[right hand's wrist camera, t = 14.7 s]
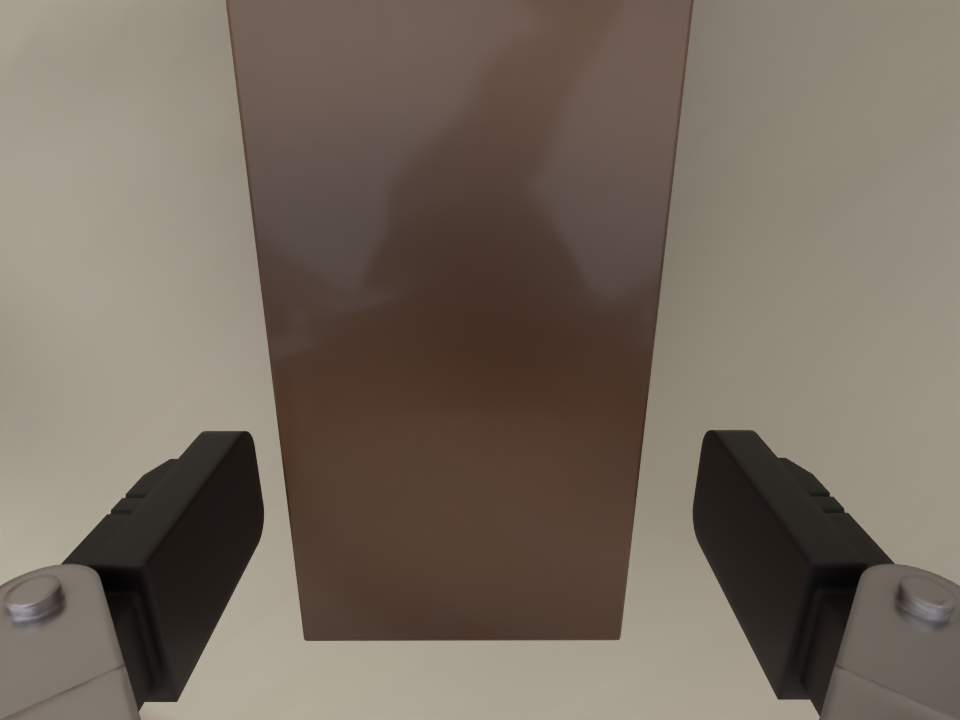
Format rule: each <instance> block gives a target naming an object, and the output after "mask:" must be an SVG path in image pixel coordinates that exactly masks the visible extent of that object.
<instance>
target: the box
mask: <svg viewBox="0 0 960 720" xmlns="http://www.w3.org/2000/svg"><path fill="white" fill-rule="evenodd" d="M226 5H227V14H228V22H229V30H230V38H231V46H232V54H233V63H234V71H235V79H236V87H237V95H238V103H239V111H240V120H241V128H242V136H243V144H244V152H245V160H246V169H247V177H248V185H249V193H250V201H251V209H252V218H253V226H254V234H255V242H256V250H257V258H258V267H259V275H260V283H261V291H262V299H263V307H264V316H265V324H266V332H267V340H268V348H269V356H270V364H271V373H272V381H273V389H274V397H275V405H276V413H277V422H278V430H279V438H280V446H281V454H282V462H283V471H284V479H285V487H286V495H287V503H288V511H289V520H290V528H291V536H292V544H293V552H294V560H295V569H296V577H297V585H298V593H299V601H300V609H301V617H302V626H303V634H304V639H305V640H306V641H411V640H619V639H620V636H621V627H622V619H623V610H624V601H625V592H626V584H627V575H628V566H629V558H630V549H631V540H632V531H633V523H634V514H635V505H636V497H637V488H638V479H639V470H640V462H641V453H642V444H643V436H644V427H645V418H646V409H647V401H648V392H649V383H650V375H651V366H652V357H653V349H654V340H655V331H656V322H657V314H658V305H659V296H660V288H661V279H662V270H663V261H664V253H665V244H666V235H667V227H668V218H669V209H670V200H671V192H672V183H673V174H674V166H675V157H676V148H677V139H678V131H679V122H680V113H681V105H682V96H683V87H684V78H685V70H686V61H687V52H688V44H689V35H690V26H691V17H692V9H693V0H226Z"/></svg>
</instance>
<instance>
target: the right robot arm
mask: <svg viewBox="0 0 960 720" xmlns="http://www.w3.org/2000/svg"><path fill="white" fill-rule="evenodd" d="M263 523H264V506H263V499H262V492H261V486H260V479H259V472H258V466H257V459H256V452H255V446H254V441H253V438H252V436H251V434H250V433H249V432H247V431H204V432H202V433H201V434H200V435H199V436H198V437H197V438H196V439H195V440H194V441H193V443H192V444H191V445H190V446H189V447H188V448H187V449H186V451H185V452H184V453H183V454H182V455H181V456H180V458H179V459H170V460H168V461H167V462H165V463H163V464H162V465H160V466H158V467H157V468H155V469H153V470H151V471H150V472H148V473H146V474H145V475H143V476H142V477H141V478H140V480H139V481H138V482H137V483H136V484H135V485H134V486H133V487H132V488H131V489H130V490H129V491H128V493H127V494H126V498H122V499H121V500H120V501H119V502H118V503H117V504H116V505H115V507H114V508H113V509H112V510H111V514H107V515H106V516H105V517H104V518H103V520H102V521H101V522H100V523H99V524H98V525H97V526H96V527H95V528H94V529H93V530H92V531H91V532H90V534H89V535H88V536H87V537H86V538H85V539H84V540H83V541H82V542H81V543H80V544H79V545H78V547H77V548H76V549H75V550H74V551H73V552H72V553H71V554H70V555H69V556H68V557H67V558H66V559H65V561H64V562H63V563H62V564H61V565H53V566H49V567H44V568H40V569H37V570H34V571H31V572H28V573H26V574H23V575H20V576H18V577H16V578H14V579H12V580H10V581H8V582H6V583H5V584H3V585H1V586H0V720H141V718H140V715H139V711H140V709H141V707H142V705H143V704H144V702H177V701H178V699H179V697H180V695H181V693H182V691H183V689H184V687H185V685H186V683H187V682H188V680H189V678H190V676H191V674H192V672H193V670H194V668H195V666H196V664H197V662H198V660H199V658H200V656H201V654H202V652H203V650H204V648H205V646H206V645H207V643H208V641H209V639H210V637H211V635H212V633H213V631H214V629H215V627H216V625H217V623H218V621H219V619H220V617H221V615H222V613H223V611H224V609H225V608H226V606H227V604H228V602H229V600H230V598H231V596H232V594H233V592H234V590H235V588H236V586H237V584H238V582H239V580H240V578H241V576H242V574H243V572H244V571H245V569H246V567H247V565H248V563H249V561H250V559H251V557H252V555H253V553H254V551H255V549H256V547H257V545H258V543H259V541H260V538H261V534H262V530H263ZM693 524H694V530H695V534H696V537H697V540H698V543H699V545H700V547H701V549H702V551H703V553H704V554H705V556H706V558H707V560H708V562H709V564H710V566H711V568H712V570H713V572H714V574H715V576H716V578H717V580H718V582H719V584H720V586H721V588H722V590H723V592H724V594H725V596H726V598H727V600H728V602H729V604H730V606H731V608H732V610H733V612H734V614H735V616H736V618H737V620H738V621H739V623H740V625H741V627H742V629H743V631H744V633H745V635H746V637H747V639H748V641H749V643H750V645H751V647H752V649H753V651H754V653H755V655H756V657H757V659H758V661H759V663H760V665H761V667H762V669H763V671H764V673H765V675H766V677H767V679H768V681H769V683H770V685H771V687H772V689H773V690H774V692H775V694H776V696H777V698H778V699H810V700H811V702H812V703H813V705H814V707H815V709H816V711H817V712H818V714H819V716H820V718H819V720H960V586H959V585H957V584H955V583H954V582H952V581H950V580H948V579H946V578H944V577H942V576H940V575H937V574H934V573H932V572H929V571H926V570H923V569H920V568H916V567H911V566H907V565H899V564H894V562H893V561H892V560H891V559H890V558H889V557H888V556H887V555H886V554H885V553H884V552H883V550H882V549H881V548H880V547H879V546H878V545H877V544H876V543H875V542H874V541H873V540H872V538H871V537H870V536H869V535H868V534H867V533H866V532H865V531H864V530H863V529H862V528H861V526H860V525H859V524H858V523H857V522H856V521H855V520H854V519H853V518H852V517H851V516H850V515H849V513H845V512H844V508H843V507H842V506H841V505H840V504H839V503H838V501H837V500H836V499H835V498H834V497H830V493H829V492H828V491H827V489H826V488H825V487H824V486H823V485H822V484H821V483H820V482H819V481H818V480H817V479H816V477H815V476H814V475H813V474H811V473H810V472H808V471H806V470H805V469H803V468H801V467H800V466H798V465H796V464H795V463H793V462H791V461H790V460H788V459H786V458H777V457H776V455H775V454H774V453H773V452H772V451H771V450H770V448H769V447H768V446H767V445H766V444H765V443H764V441H763V440H762V439H761V438H760V437H759V436H758V434H757V433H756V432H754V431H752V430H709V431H708V432H707V433H706V434H705V436H704V439H703V443H702V448H701V455H700V462H699V469H698V476H697V482H696V489H695V496H694V503H693Z"/></svg>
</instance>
